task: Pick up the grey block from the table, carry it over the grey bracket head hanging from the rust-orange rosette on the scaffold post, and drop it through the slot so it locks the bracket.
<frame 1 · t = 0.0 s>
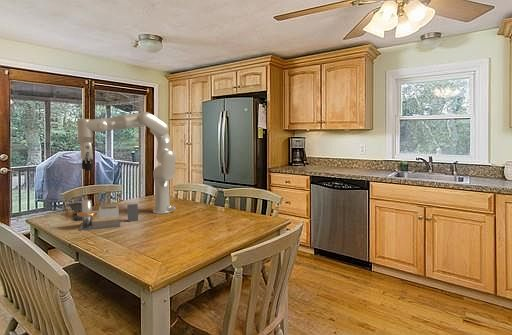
hand: (86, 169, 182), 31 cm above the table, tool pointing down, fingers open, 9 cm apart
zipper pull: (79, 216, 198), on the table
ringlock standard: (99, 225, 177), on the table
grey block: (132, 220, 189), on the table
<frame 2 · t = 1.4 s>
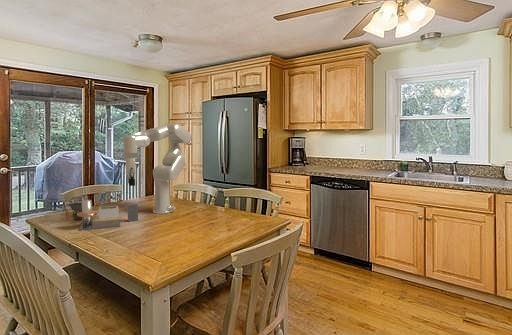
hand: (131, 184, 187), 22 cm above the table, tool pointing down, fingers open, 9 cm apart
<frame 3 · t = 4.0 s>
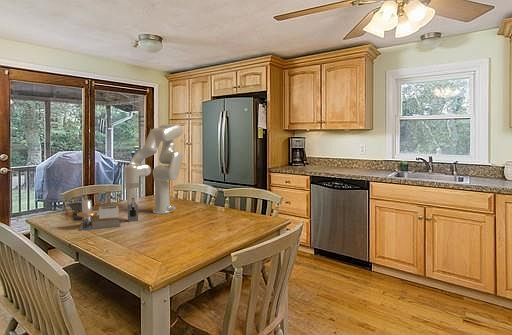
hand: (132, 215, 188), 3 cm above the table, tool pointing down, fingers closed on grey block, 3 cm apart
grey block: (132, 220, 189), on the table, touching gripper
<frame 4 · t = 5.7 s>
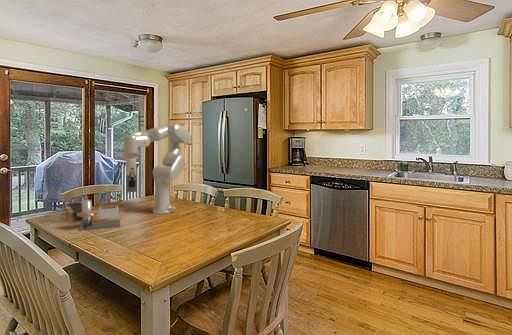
hand: (131, 186, 187), 21 cm above the table, tool pointing down, fingers closed on grey block, 3 cm apart
grey block: (132, 191, 187), point 18 cm above the table, touching gripper
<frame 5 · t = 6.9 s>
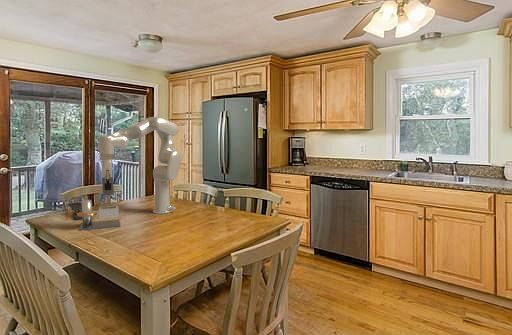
hand: (108, 189, 178), 21 cm above the table, tool pointing down, fingers closed on grey block, 3 cm apart
grey block: (108, 194, 178), point 18 cm above the table, touching gripper
when the fingers open (12 cm above the table, at t = 9.1 s): grey block drops 7 cm, resting on ringlock standard.
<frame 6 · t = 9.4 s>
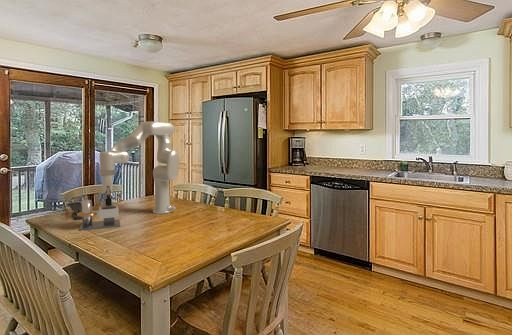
hand: (108, 204, 178), 12 cm above the table, tool pointing down, fingers open, 6 cm apart
grey block: (109, 223, 179), point 1 cm above the table, touching ringlock standard
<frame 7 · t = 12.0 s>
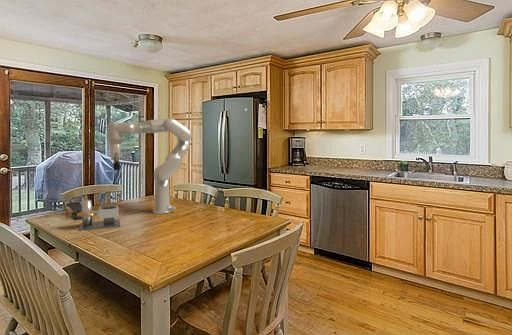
hand: (116, 169, 198), 30 cm above the table, tool pointing down, fingers open, 9 cm apart
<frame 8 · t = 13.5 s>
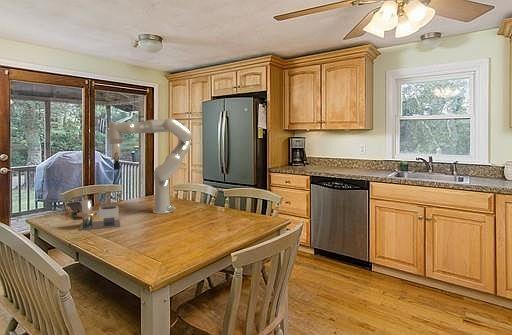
hand: (116, 168, 198), 30 cm above the table, tool pointing down, fingers open, 9 cm apart
at the end: grey block 0.1 cm from the target spot on the ringlock standard, point 1.0 cm above the ringlock standard's base; grey block tilted 0°; the gripper is holding nothing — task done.
